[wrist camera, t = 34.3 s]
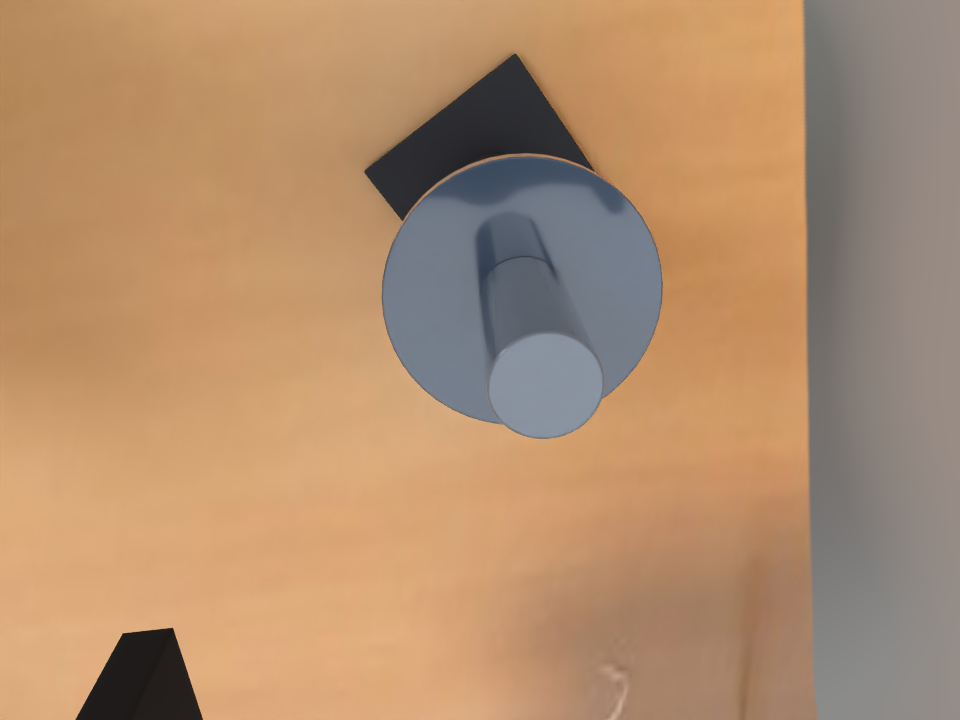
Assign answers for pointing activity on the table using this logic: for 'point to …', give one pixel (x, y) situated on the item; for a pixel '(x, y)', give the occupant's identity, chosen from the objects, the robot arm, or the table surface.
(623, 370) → the lid
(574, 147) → the coaster
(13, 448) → the table surface
